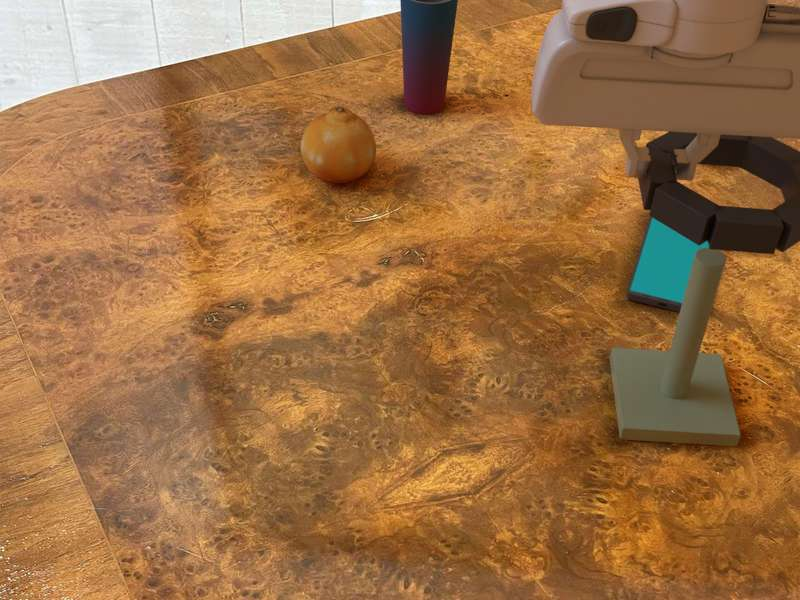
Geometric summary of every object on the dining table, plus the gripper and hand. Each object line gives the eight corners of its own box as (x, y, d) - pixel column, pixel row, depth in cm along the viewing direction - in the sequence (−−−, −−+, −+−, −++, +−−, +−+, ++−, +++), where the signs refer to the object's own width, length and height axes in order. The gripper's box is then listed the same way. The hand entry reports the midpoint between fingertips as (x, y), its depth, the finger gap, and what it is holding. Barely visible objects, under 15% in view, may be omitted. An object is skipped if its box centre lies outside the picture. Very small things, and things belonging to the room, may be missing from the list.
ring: (793, 158, 86) (802, 131, 84) (833, 259, 76) (844, 231, 74) (631, 145, 86) (637, 118, 84) (650, 244, 76) (657, 216, 74)
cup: (459, 97, 134) (467, -16, 124) (438, 123, 129) (445, 8, 120) (410, 85, 136) (414, -27, 126) (387, 110, 131) (390, -5, 122)
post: (717, 365, 99) (761, 222, 88) (736, 447, 91) (788, 301, 80) (609, 358, 99) (640, 215, 88) (619, 439, 92) (655, 294, 81)
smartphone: (626, 292, 105) (652, 208, 116) (625, 298, 105) (650, 214, 116) (701, 311, 103) (721, 224, 114) (699, 317, 104) (719, 230, 114)
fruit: (354, 122, 125) (328, 84, 118) (399, 158, 120) (375, 119, 114) (305, 172, 124) (276, 136, 117) (349, 209, 120) (322, 174, 113)
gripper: (843, -12, 73) (788, 159, 82) (542, -27, 73) (521, 144, 82) (868, 31, 68) (807, 207, 77) (547, 14, 68) (524, 191, 78)
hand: (657, 174), depth 80 cm, fingers closed on ring, 2 cm apart
